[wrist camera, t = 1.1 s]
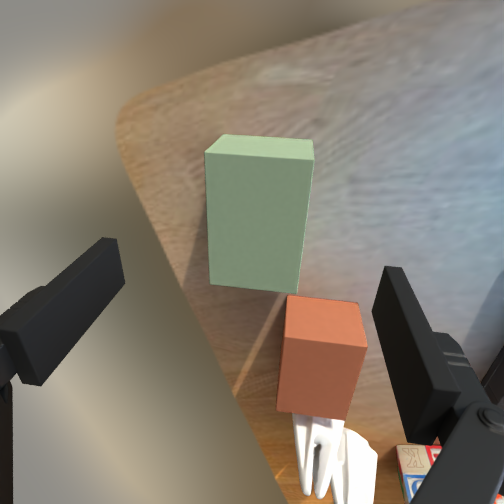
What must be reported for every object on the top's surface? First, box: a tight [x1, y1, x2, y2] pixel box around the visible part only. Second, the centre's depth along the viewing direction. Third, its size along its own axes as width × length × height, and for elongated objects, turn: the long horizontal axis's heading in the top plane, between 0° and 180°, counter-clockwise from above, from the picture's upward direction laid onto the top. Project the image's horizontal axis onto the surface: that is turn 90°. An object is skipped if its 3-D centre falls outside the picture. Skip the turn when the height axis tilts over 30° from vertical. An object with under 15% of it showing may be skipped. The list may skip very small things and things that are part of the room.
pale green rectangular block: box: [204, 134, 315, 294], centre depth 22 cm, size 9×6×5 cm, turn 178°
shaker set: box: [292, 413, 378, 504], centre depth 31 cm, size 12×4×11 cm, turn 36°
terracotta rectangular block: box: [276, 295, 368, 421], centre depth 28 cm, size 9×6×5 cm, turn 178°
